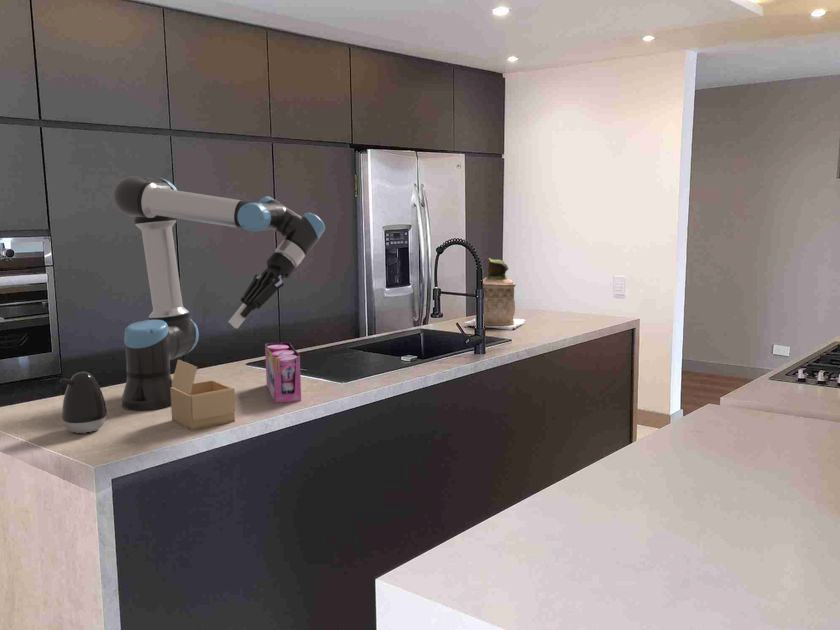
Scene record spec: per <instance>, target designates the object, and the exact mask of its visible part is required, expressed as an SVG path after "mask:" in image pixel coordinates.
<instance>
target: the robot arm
mask: <svg viewBox="0 0 840 630" xmlns="http://www.w3.org/2000/svg"><path fill="white" fill-rule="evenodd" d="M112 199H113V203H114V205H115V208H116V209H117V210H118V211H119V212H120V213H122V214H123V215H125V216H126V217H130V218H133V219H134V225H135V226H136V227H137V228H138V229H139V230H140V232H141V237H142V243H143V249H144V250H143V251H144V257H145V263H146V270H147V276H148V284H149V291H150V298H151V304H152V312H151V313H150V314H149V316H148V319H146V320H145V319H144V320H142V321H135V322H133V323H130V324H128V325H127V327H125V329H124V339H123V343H124V353H125V365H126V381H125V386H124V389H123V392H122V397H121V405H122V407H123V408H124V409H126V410H132V411H148V410H149V411H151V410H158V409H163V408H167V407H171V391H170V387H173V386H171V385H172V381H173V378H172V376H171V375H172V374H171V365H170V364H171V362H170V361H172V360H174V359H177V358H180V357H183V356H185V355H187V354H188V353H190V352H191V351H192V350H194V349H195V347H196V346H197V344H198V341H199V337H200V335H199V329H198V325H197V323H195V322H194V321H193V319H192V318H191V316H190V315H191V314H190V311H189V310H188V309H186V308H185V307H184V305H183V297H182V290H181V284H180V283H181V282H180V276H179V270H178V269H179V268H178V264H177V263H178V262H177V261H178V260H177V255H176V248H175V240H174V234H173V226H174V225H175V224H176V223H177V219H178V220H179V219H180V220H186V221H190V222H191V221H192V222H199V223H204V224H212V225H219V226H224V227H232V228H238V229H242V230H243V229H244V230H245V231H249V232H254V233H259V232H262V231H274V232H276V233H277V234H279V235H281V236H283V237H284V239H283V240H282V241H281V243H280V244H279V245H278V246H277V247H276V248H275V251H274V252H273V253H272V254H271V255H270V256H269V258H268V259H267V260H266V265H267V268H266V269H264V270H263V271H262V273H261V274H260V275H259V274H255V275H254V276H253V279H252V281H251V282H250V284H249V286H248V287H247V289H246V291H245V292H244V294H243V295H242V296H241V298H240V300H239V301H240V302H242V304H241V305H240V306H239V308H238V309H237V310H236V311H235V313H233V315H232V317H231V318H230V319H229V320H228V322H227V323H229V324H230V325H231V326H232V327H233V328H234V329H239V328H240V326H241V325H242V324H243V322H244V321H245V320H246V319H247V318H248V316H249V315H250V314H251V312H252V311H254V310H255V309H257V310H258V309H261V307H262V306H263V305H264V304H265V303H266V302H267V301H268V300H269V299H270V298H271V297H272V296H273V295H274V294H275V293H276V292H277V291H278V290H279V289H280V288H282V287H283V286H284V285H285V283H284V282H283V279H288V278H290V276H291V275H292V274H293V272H294V271H295V269H296V268H297V267H298V266H299V265H300V264H301V263H302V261H303V260H304V258H305V257H306V256H307V254H308V253H309V252H310V251H311V250H312V248H313V247H314V246H315V245H316V244H317V243H318V242H319V241H320V238H321V237H322V235H323V233H324V232H325V231H326V225H325V222H324V221H323V220H322V219H321V217H319V216H318V215H316V214H315V213H311V212H305V213H304V214H303V215H302V216H301V215H300V214H298V213H296V212H295V211H293V210H291V209H290V208H288V207H287V206H285V205H284V204H283V203H281V202H279V200H277V199H274V198H273V197H271V196H269V195H266V196H264V197H262V198H261V199H260V200H259V201H258V202H255V201H249V200H242V199H241V200H240V199H236V198H235V199H234V198H229V197H222V196H215V195H208V194H202V193H195V192H189V191H182V190H178V189H177V187H176V186H175V185H174V184H173V183H172V182H171V181H169V180H167V179H165V178H161V177H157V176H155V177H153V176H137V175H130V176H126V177H124V178H122V179H121V180H118V182H117V183H116V185H115V186H114V189H113V191H112Z"/></svg>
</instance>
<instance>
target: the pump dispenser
mask: <svg viewBox="0 0 840 630" xmlns="http://www.w3.org/2000/svg"><path fill="white" fill-rule="evenodd" d="M59 383H60V384H65V385H67V386H66V390H65V392H64V395H63V401H62V402H63V403H62V408H61V409H62V412H61V415H62V416H61V418H62V419H61V420H62V421H63V422H64V424H65V426H66V428H67V429H68V430H69V431H70V432H72V433H74V432H75V433H74V434H79V433H84V434H87V433H86V432H90V433H93V432H92V431H94V432H95V431H98V430H99V429H100V428H101V427H102V426H103V425H104V423H105V421H106V417H107V415H108V412H107V405H106V401H105V398H104V395H103V394H104V393H103V392H102V390H101V387H100V385H99V384H98V382H97V380H96V378H95V377H94V376H93V375H92V374H91V373H90V372H87V371H79V372H77V373H75V374H73V375H72V377H71V378H70V379H68V378H60V380H59Z"/></svg>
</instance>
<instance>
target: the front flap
mask: <svg viewBox="0 0 840 630" xmlns="http://www.w3.org/2000/svg"><path fill="white" fill-rule="evenodd" d="M197 370H198V366H196V365H194V364H191V363H188V362H186V361H183V360H181V359H177V362H176V366H175V369H174V374H173V376H172V377H173V378H172V385H171V386H173V387H176V388H178V389H180V390H182V391H184V392H186V393H189V394H191V390H192V386H193V383H195V382H194V381H195V378H196V374H197Z"/></svg>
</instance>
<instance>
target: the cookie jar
mask: <svg viewBox="0 0 840 630" xmlns="http://www.w3.org/2000/svg"><path fill="white" fill-rule="evenodd" d="M487 259H488V265H487V272H488V274H487V276H486V277H484V278H483V279H482V280H483V289H484V294H485V297H484V326H485V327H484V328H489V329H500V330H507V331H513V329H517V328H518V327H520V326H522V325H523V324H525V323H526V319H524V318H522V319H521V318H514V316H515V314H516V313H515V311H516V302H515V287H516V285H517V284H516V282H514V281H513V280H512V279H511V278H508V277H507V276H506V273H507V271H508V270H509V267H508V265H507V264H506V263H505V262H504V260H501V259H492V258H491V257H489V258H487ZM464 324H465V327H466V328H468V327H470V326H471V327H476V326H475V318H473V319H472V320H468V321H464Z"/></svg>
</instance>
